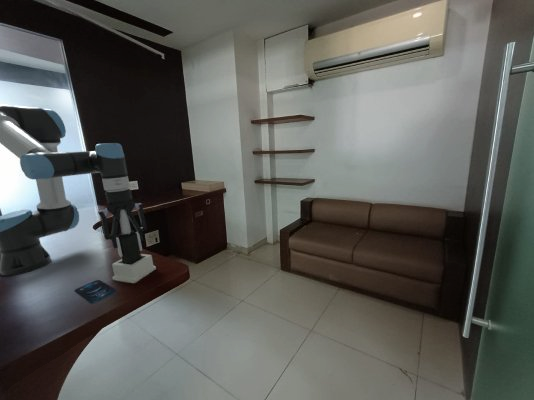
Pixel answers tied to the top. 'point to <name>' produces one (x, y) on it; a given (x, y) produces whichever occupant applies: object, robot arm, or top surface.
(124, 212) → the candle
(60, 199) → the robot arm
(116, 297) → the top surface
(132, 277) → the socket
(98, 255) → the top surface
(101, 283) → the smartphone
